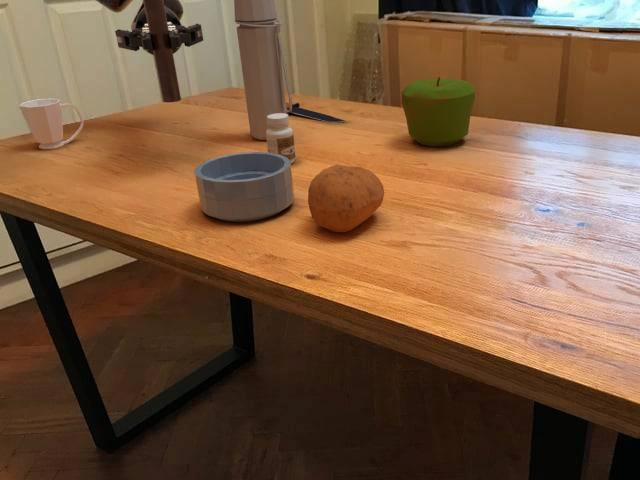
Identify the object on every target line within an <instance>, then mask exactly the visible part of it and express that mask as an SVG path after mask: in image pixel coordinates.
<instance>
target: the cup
mask: <svg viewBox="0 0 640 480" xmlns="http://www.w3.org/2000/svg"><path fill="white" fill-rule="evenodd" d="M68 107H72V108H73V109H74V110H75V111H76V113H77V115H78V117H79V120H80V125H79V127H78V129H77V130H76V131H75V133H73V134H72V136H70V137H69V138H68V139H66V140H63V138H64V122H63V114H62V113H63V112H62V110H63V109H64V108H68ZM18 108H19V110H20V111H21V114H22V116H23V117H24V118H23V119H24V120H25V122H26V125H27V127H28V129H29V131H30V133H31V134H32V137H33V138H34V140H35V142H36V143H38V144H39V145H38V149H41V150H52V149H53V150H54V149H57V148H61V147H63V146H64V145H67V144H69V143H70V142H72V141H73V140H74V139H75V138H76V137H77V136H78V135H79V134H80V133H81V131H82V130H83V128H84V118H83V116H82V114H81V111H80V110H79V108H78V107H76V106H75V105H73V104H71V103H61V99H59V98H52V97H49V98H48V97H47V98H37V99H31V100H28V101H23V102H21V103H20V104H19V105H18Z"/></svg>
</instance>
